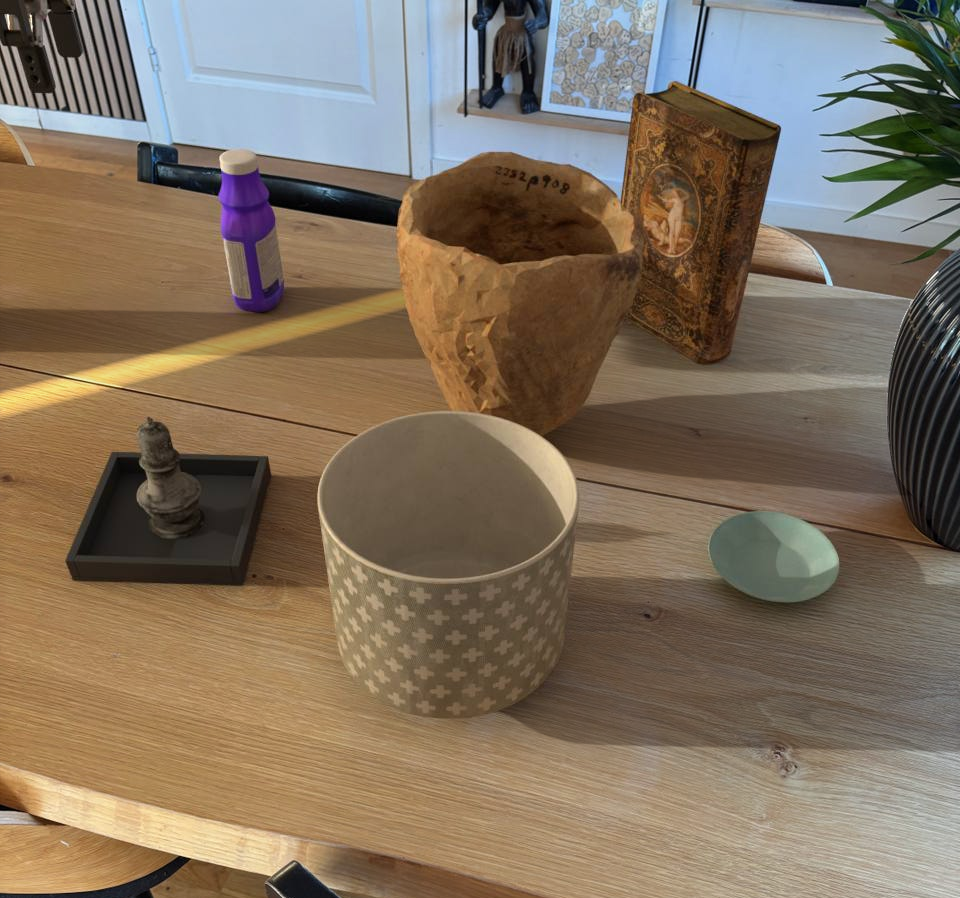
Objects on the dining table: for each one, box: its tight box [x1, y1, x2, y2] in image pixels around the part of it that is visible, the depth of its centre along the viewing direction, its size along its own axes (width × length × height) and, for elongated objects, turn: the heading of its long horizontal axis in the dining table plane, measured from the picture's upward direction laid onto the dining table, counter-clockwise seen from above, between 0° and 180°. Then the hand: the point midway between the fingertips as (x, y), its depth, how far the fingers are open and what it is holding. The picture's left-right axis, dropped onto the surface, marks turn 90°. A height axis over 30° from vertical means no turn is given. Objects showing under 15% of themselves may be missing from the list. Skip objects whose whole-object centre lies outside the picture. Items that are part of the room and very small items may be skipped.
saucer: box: [707, 510, 840, 603], centre depth 93 cm, size 12×12×2 cm
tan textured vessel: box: [396, 151, 645, 437], centre depth 98 cm, size 22×22×25 cm
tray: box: [64, 451, 272, 586], centre depth 96 cm, size 16×16×2 cm
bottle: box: [218, 148, 285, 313], centre depth 118 cm, size 7×6×17 cm
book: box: [620, 80, 782, 365], centre depth 112 cm, size 16×6×25 cm, turn 38°
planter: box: [316, 410, 580, 720], centre depth 80 cm, size 19×19×18 cm
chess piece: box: [135, 416, 205, 539], centre depth 93 cm, size 6×6×12 cm
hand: (58, 73), depth 93 cm, fingers open, 8 cm apart
